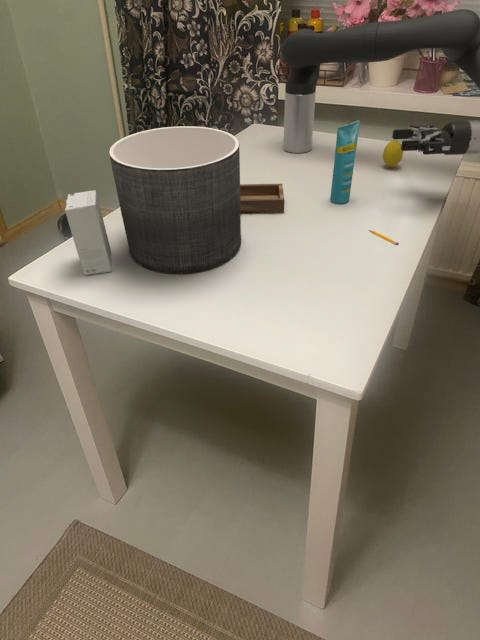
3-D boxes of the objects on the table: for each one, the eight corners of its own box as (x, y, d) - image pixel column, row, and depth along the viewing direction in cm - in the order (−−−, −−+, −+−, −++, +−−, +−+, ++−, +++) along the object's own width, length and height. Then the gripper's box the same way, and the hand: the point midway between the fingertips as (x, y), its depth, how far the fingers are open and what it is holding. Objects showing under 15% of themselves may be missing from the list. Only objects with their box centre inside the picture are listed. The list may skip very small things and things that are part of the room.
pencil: (396, 246, 104) (396, 243, 103) (366, 231, 109) (367, 229, 109) (398, 245, 104) (399, 242, 104) (369, 230, 110) (369, 228, 109)
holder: (236, 197, 125) (236, 184, 123) (281, 196, 125) (282, 183, 123) (235, 213, 118) (235, 200, 116) (283, 213, 117) (284, 199, 115)
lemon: (402, 166, 140) (408, 138, 135) (396, 172, 136) (401, 144, 131) (384, 163, 142) (389, 135, 137) (378, 169, 138) (382, 141, 133)
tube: (338, 207, 119) (347, 128, 107) (323, 201, 122) (330, 124, 110) (356, 198, 123) (366, 121, 111) (340, 193, 126) (349, 117, 114)
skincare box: (112, 272, 98) (97, 205, 89) (82, 276, 97) (63, 209, 88) (111, 252, 104) (97, 188, 95) (83, 256, 103) (66, 191, 94)
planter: (106, 262, 101) (81, 160, 87) (163, 212, 119) (150, 121, 106) (214, 285, 93) (206, 177, 80) (257, 228, 112) (257, 132, 98)
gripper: (459, 112, 115) (392, 115, 116) (482, 130, 104) (407, 132, 105) (452, 144, 120) (387, 146, 120) (472, 164, 109) (401, 166, 109)
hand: (397, 139), depth 113 cm, fingers open, 8 cm apart
